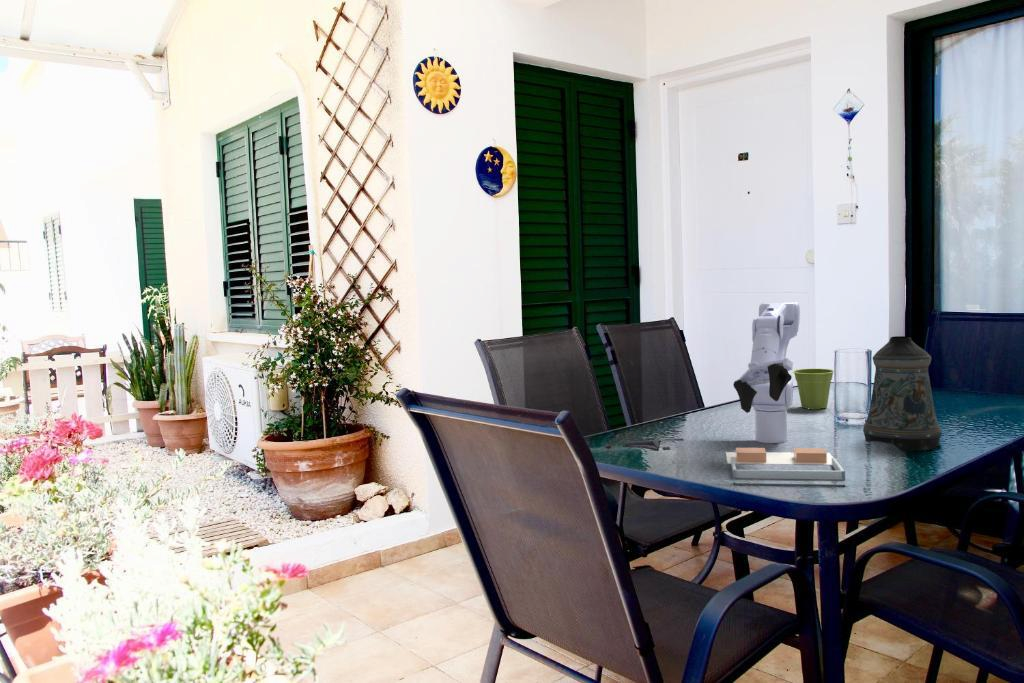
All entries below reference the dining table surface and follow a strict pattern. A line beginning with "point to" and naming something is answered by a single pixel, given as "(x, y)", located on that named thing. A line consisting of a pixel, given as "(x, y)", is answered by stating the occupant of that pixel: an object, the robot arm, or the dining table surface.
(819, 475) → the tray
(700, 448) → the dining table surface
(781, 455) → the cream plate
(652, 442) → the bracket
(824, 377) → the plant pot
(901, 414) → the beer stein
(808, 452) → the terracotta tile
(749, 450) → the terracotta tile
